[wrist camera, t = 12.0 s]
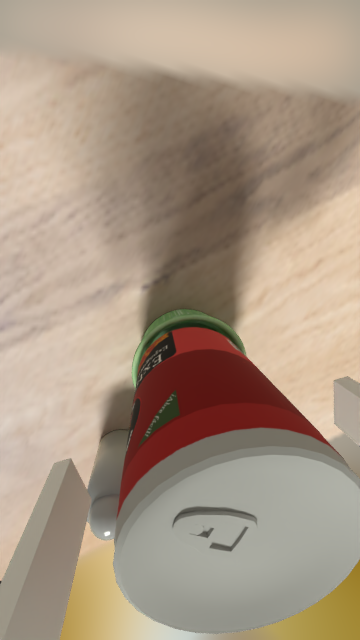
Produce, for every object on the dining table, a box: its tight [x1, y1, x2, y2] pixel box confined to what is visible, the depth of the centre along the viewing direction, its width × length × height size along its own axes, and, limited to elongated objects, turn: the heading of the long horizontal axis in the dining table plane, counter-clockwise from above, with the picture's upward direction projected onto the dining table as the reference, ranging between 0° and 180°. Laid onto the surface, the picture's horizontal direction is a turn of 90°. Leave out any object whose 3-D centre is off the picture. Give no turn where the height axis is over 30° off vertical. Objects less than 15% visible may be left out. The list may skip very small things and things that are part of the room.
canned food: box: [113, 327, 360, 634], centre depth 12 cm, size 8×8×11 cm
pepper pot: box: [87, 430, 129, 540], centre depth 20 cm, size 4×4×8 cm
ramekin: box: [132, 309, 246, 387], centre depth 19 cm, size 9×9×4 cm
